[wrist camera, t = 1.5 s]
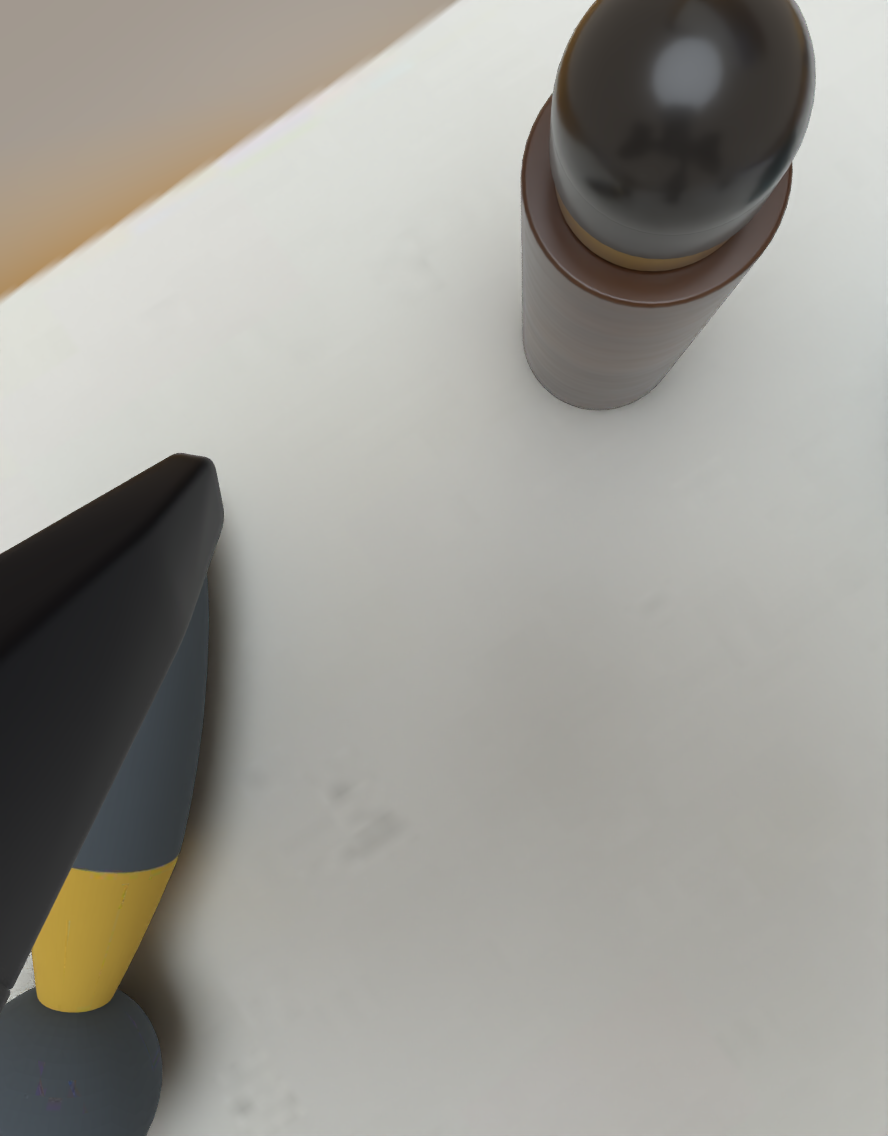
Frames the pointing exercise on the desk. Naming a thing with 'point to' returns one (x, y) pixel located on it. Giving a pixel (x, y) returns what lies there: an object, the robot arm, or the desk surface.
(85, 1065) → the paintbrush
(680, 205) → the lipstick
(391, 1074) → the desk surface
